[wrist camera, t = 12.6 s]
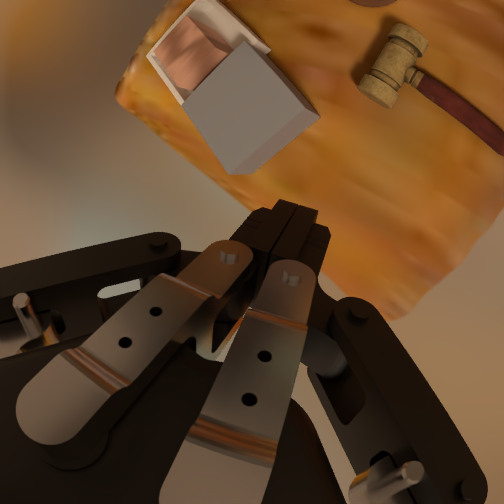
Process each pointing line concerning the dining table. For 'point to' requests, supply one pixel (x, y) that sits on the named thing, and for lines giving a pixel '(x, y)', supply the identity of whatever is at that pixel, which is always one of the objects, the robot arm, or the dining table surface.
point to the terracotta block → (192, 52)
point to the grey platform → (248, 110)
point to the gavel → (421, 84)
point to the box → (216, 18)
